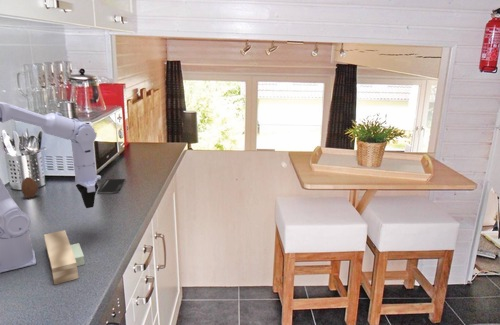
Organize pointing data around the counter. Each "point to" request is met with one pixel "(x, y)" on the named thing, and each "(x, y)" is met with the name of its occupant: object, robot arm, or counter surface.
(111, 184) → the phone
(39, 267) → the counter surface
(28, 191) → the coconut
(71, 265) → the overhang shelf
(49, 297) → the counter surface
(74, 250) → the pale green slab
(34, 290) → the counter surface
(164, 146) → the counter surface
